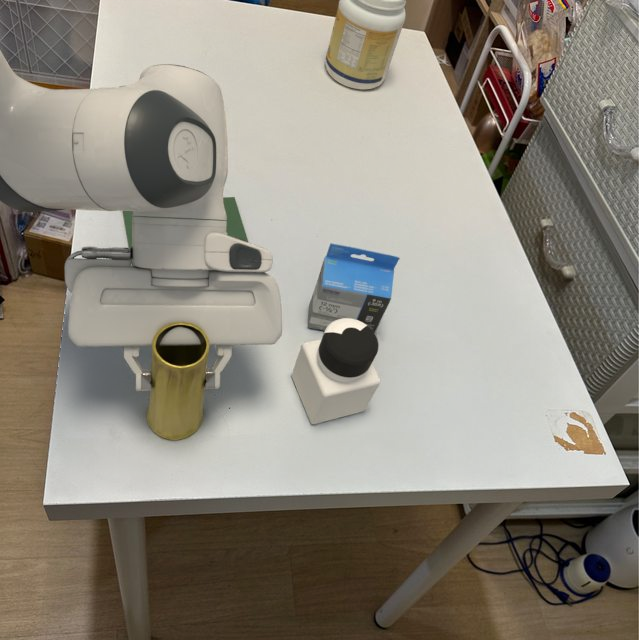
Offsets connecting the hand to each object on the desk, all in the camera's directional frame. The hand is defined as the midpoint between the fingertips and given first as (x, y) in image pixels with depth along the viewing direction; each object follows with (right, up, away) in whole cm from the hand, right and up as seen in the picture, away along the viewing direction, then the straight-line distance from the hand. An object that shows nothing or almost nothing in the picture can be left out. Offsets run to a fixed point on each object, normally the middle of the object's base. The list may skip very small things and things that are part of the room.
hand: (178, 388), depth 60 cm
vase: (-2, -4, +7) cm, 8 cm away
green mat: (-4, +18, +23) cm, 29 cm away
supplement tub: (+21, +55, +57) cm, 82 cm away
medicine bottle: (+15, -2, +13) cm, 20 cm away
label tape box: (+17, +6, +20) cm, 27 cm away
